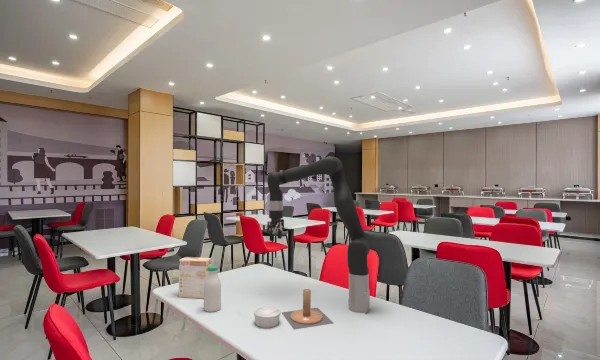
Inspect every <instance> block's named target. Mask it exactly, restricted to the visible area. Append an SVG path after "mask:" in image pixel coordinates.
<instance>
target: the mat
mask: <svg viewBox="0 0 600 360" xmlns="http://www.w3.org/2000/svg"><path fill="white" fill-rule="evenodd" d="M311 310H316V311H318V312H320V313H321V314H322V315H323V319H322V321H320V322H319V323H316V324H310V325H304V324H298V323H296V322H294V321H292V320H291V313H292V312H294V311H296V310H290V311H289V310H288V311H282V312H281V311H280V314H282V316H283V317H284V319H286V321H287V323H288V324H289V325H290V326H291V328H292V329H293V331H294V330H299V329H300V330H301V329H305V328H307V329H308V328H312V327H313V328H314V327H320V326H325V325H333V324H334V321H332V320H331V319H330V318H329V316H327V314H325V313H324V312H323V311H322V310H321V309H319V307H312V308H311Z"/></svg>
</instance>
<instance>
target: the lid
mask: <svg viewBox="0 0 600 360" xmlns="http://www.w3.org/2000/svg"><path fill="white" fill-rule="evenodd" d="M311 294H312V290H311V289H309V288H304V289H303V290H302V309H297V310H296V311H295V310H293V311H294V312H292V313H291V320H292V321H294V322H296V323H298V324H304V325H310V324H316V323H319V322H320V321H322V319H323V315H322V314H321V313H320V312H318V311H316V310H311V301H312V299H311V298H312V296H311Z"/></svg>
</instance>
